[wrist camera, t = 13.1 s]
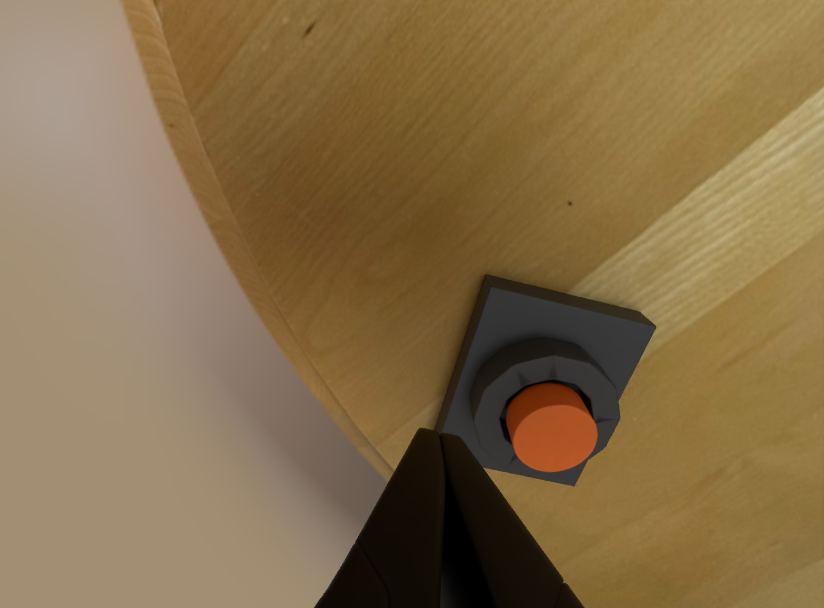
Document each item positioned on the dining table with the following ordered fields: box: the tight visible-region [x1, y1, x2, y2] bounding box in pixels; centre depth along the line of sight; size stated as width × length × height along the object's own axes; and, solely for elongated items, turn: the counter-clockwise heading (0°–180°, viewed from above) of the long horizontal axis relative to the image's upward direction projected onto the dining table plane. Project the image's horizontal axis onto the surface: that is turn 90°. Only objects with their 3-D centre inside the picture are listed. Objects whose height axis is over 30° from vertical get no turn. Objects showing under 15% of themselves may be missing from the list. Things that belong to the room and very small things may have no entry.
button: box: [506, 382, 598, 472], centre depth 19 cm, size 4×4×2 cm
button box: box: [435, 275, 656, 486], centre depth 22 cm, size 8×10×4 cm
